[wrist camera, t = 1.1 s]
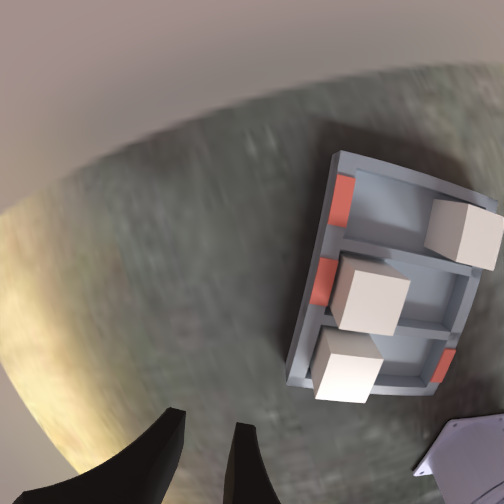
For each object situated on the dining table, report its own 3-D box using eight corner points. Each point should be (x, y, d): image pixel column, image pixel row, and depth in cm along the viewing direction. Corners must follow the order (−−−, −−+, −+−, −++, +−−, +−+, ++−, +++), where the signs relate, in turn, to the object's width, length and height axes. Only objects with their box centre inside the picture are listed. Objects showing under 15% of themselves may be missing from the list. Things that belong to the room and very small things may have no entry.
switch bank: (477, 198, 17) (499, 201, 15) (421, 377, 20) (434, 397, 18) (332, 154, 18) (341, 149, 15) (285, 364, 21) (286, 386, 18)
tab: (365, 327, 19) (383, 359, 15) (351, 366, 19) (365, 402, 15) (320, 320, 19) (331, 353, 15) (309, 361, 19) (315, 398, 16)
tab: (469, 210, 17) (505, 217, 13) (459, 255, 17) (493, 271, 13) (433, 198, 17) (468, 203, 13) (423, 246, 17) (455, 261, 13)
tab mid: (384, 261, 18) (410, 280, 14) (371, 307, 18) (392, 336, 14) (338, 251, 18) (355, 270, 14) (326, 299, 18) (338, 328, 15)
